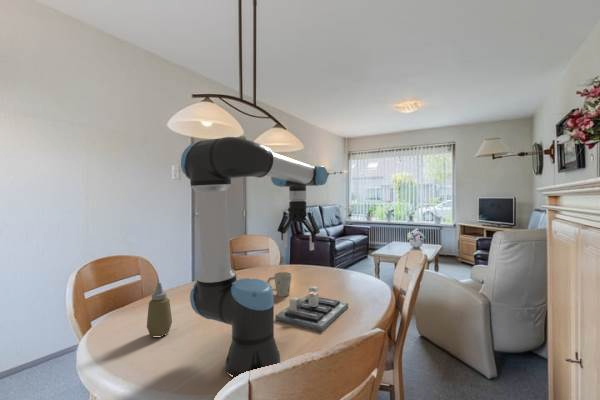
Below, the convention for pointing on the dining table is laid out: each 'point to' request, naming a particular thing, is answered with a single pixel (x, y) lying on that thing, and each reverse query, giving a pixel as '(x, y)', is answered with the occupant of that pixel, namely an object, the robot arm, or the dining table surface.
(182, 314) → the dining table surface
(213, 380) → the dining table surface
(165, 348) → the dining table surface
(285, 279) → the mug
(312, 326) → the panel
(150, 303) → the squeeze bottle
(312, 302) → the block
